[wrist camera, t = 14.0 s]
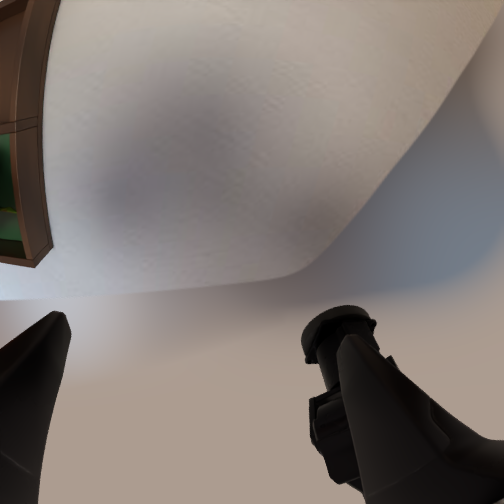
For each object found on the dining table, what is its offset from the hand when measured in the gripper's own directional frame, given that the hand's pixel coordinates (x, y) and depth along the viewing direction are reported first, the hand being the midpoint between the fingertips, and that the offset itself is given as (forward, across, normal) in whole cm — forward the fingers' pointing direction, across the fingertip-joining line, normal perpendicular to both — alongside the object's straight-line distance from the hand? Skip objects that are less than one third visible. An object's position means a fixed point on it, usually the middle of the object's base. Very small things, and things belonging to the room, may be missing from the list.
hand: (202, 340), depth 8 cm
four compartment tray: (+12, +24, -6) cm, 27 cm away
